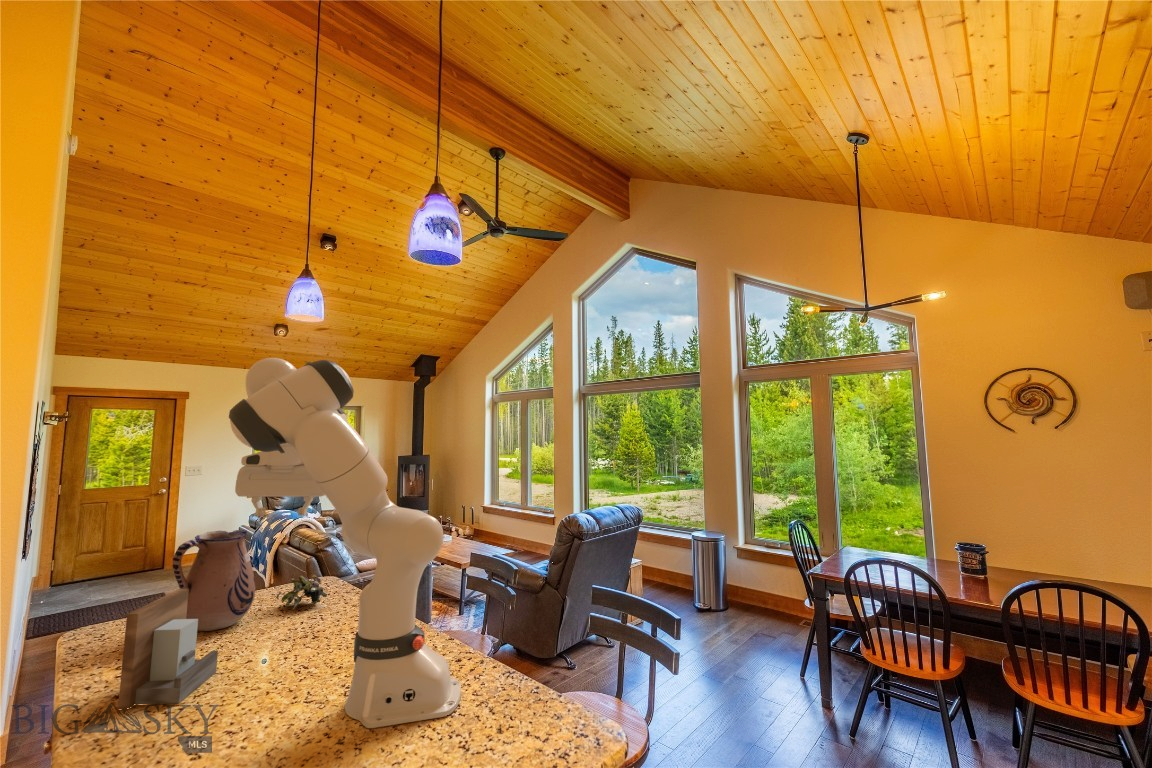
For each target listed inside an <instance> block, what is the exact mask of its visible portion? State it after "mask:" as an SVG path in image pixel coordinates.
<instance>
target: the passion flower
mask: <svg viewBox="0 0 1152 768" xmlns="http://www.w3.org/2000/svg"><path fill="white" fill-rule="evenodd" d="M310 578H312V579H311V580H310ZM310 578H308V577H304V576H303V575H299V577H298V578H297V579H298V580H296V579H294V578H291V579H290V581H291V583H292V584H293V585H294V586H293V588H292V590H291V591H288V592H287V593H286V594H284V593H282V592H281V591H278V593H277V595H276V599H279V596H280V595H281V596H282V597H281V600H280V601H281V603H284V602H285V601H286V603H285V606H286V607H287V606H288V605H290V604H291V603H292V602H293V601H294V602H293V608H292V610H291V612H294V610H295V609H296V607H297V606H298V605H299V603H301V602H302V600H303V598H304V597H306V598H310V599H311V603H313V604H317V603H320V602H321V599H320V596H322V597H323V598H326V597H328V594H327V593H325V589H324V587H323V586H320V584H321V582H322V579H321V578H319V576H316V575H315V574H311V575H310ZM301 591H303V593H302V594H301V595H300V596H299V595H298V594H299V593H300V592H301Z"/></svg>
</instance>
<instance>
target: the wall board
mask: <svg viewBox="0 0 1152 768" xmlns="http://www.w3.org/2000/svg"><path fill="white" fill-rule="evenodd" d="M188 592H189V589H180V588H179V589H176V590H174V591H172V592H170V593H168V594H166V595H163V596H162V597H160V598H158V599H155V600H154V601H152V602H149V603H148V604H146V605H143V606H141V607H139V608H137V609H135V610H133V611H131V612H129V613H127V614H126V622H125V631H124V644H123V651H122V652H123V653H122V662H121V673H120V682H119V684H120V685H119V694H118V704H117V710H118V709H127V708H130V707H132V706H133V705H134V704H158V705H175V704H176V705H177V704H180V703H182V702H183V701H184V700H185V699H186V698H187V697H189V696H190V695H191V694H193V692H195V691H196V690H197V689H199V688H200V687H201V686H202V685H203V684H204V683H206V682H207V681H208V680H210V678H212V677H213V676H214V675H215V674H216V673H217V670H218V669H217V667H218V656H219V650H216V649H214V650H211V651H209V652H208V653H206V654H205V655H204V656H203V657H201V658H198V659H196V658H195V663H194V665H192V666H191V667H189V668H188V669H187V670H185V671H184V672H183V673H181V674H180V675H179V676H177V677H176V678H175V680H161V681H150V670H151V659H152V648H153V637H154V630H155V629H157V628H159V627H161V626H163V625H164V624H166V623H168V622H170V621H172V620H173V619H186V615H187V603H188ZM132 708H133V707H132Z"/></svg>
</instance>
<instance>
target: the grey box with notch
mask: <svg viewBox="0 0 1152 768" xmlns="http://www.w3.org/2000/svg"><path fill="white" fill-rule="evenodd" d="M197 627H198V619H173V620H172V621H170V622H168V623H166V624H164V625H163V626H161V627H159V628H157V629H155V630H154V637H153V648H152V659H151V670H150V681H161V680H175V678H176V677H177V676H179V675H180V674H181V673H183V672H184V671H185V670H187V669H188V668H189V667H191V666H192V665H194V663H195V659H196V649H197V639H198V638H197V636H198V630H197Z"/></svg>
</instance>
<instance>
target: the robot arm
mask: <svg viewBox="0 0 1152 768" xmlns="http://www.w3.org/2000/svg"><path fill="white" fill-rule="evenodd" d="M354 390H355V389H354V387H353V384H352V381H351V378H350V376H349V374H348V373H347V372H346V371H345V370H344V369H343V367H341V366H340V365H338V364H337V363H336V362H335V361H332V360H329V359H320V360H315V361H312V362H311V361H306V362H305V365H303V366H301V367H299V368H296V366H294V364H292V363H290V361H288V360H285V359H283V358H278V357H266V358H262V359H260V360H258V361H256V362H255V363H254V364H252V365H251V366H250V368H249V369H248V371H247V372H246V376H245V391H246V395H247V397H248V398H246V399H244V398H243V399H241V400H240V401H239V402H237V403H235V405H234V406H233V407H232V408H231V409H229V413H228V419H229V420H230V421H229V422H230V428H231V430H232V432H233V434H234V436H235V437H236V438H237V440H238V441H240V442H241V443H242V444H244V445H245V446H247V447H249V448H252V449H253V450H254V451H257V452H255V453H251V454H248V455H245V456H242V457H241V461H240V462H241V465H242V467H240V468H239V470H238V472H237V476H236V481H235V489H234V492H235V494H236V496H238V497H239V498H240V497H242V498H243V497H249V498H250V497H251V503H252V505H253V507H254V508H255V516H256V517H263V516H266V514H267V513H266V510H267V507H266V506H265V507H264V506H263V505H262V503H261V501H262V500H263V497H264V498H265V497H267V498H268V497H270V498H272V497H276V498H277V497H286V498H288V497H303V502H305V503H304V504H303V506H302V507H299V508H297V516H298V517H300V516H302V517H304V516H307V514H308V508H309V507H310V505H311V503H313V501H314V498H315V497H317V498H318V497H321V498H322V497H324V496H325V497H326V498H327V499H328V501H329V503H331V505H332V506H333V507H334V509H335V510H336V512H337V515H338V517H339V519H340V523H341V524H342V526H341V537H342V540H343V542H344V544H345V545H347V547H348V548H349V549H351V550H353V551H354V552H356V553H358V554H359V555H360V556H365V557H368V558H372V559H376V567H375V570H374V574H373V577H372V579H371V582H369V583H368V584H366V586H364V588H363V589H362V590H361V592H360V595H359V602H358V603H359V606H358V621H357V631H356V632H355V636H354V642H353V662H354V668H353V674H352V678H351V679H352V680H351V684H350V688H349V693H348V695H347V698H346V702H345V704H344V712H345V714H347V716H349V717H351V718H352V719H355V720H356V721H358V722H359V721H360V722H361V725H363V726H364V728H366V729H375V728H382V727H387V726H394V725H400V724H406V723H412V722H419V721H424V720H431V719H438V718H442V717H448V716H449V715H451V714H452V713H453V712H454V711H455V710H456V709H457V707H458V706H459V704H460V701H461V695H462V692H461V691H462V690H461V689H462V687H461V684H460V682H459V681H458V679H457V678H456V677H451V672H450V667H449V663H448V661H447V659H446V658H445V657H444V656H443V655H441V654H439V653H438V652H436V651H435V650H433V649H432V648H430V646H428V645H427V644H425V636H426V635H425V626H422V628H421V627H419V625H417V624H416V613H417V612H416V611H417V599H418V598H417V597H418V590H419V585H420V582H421V578H422V576H423V573H424V571H425V569H426V567H427V566H428V565H429V564H430V563H431V562H432V561H434V559H436V557H437V556H438V555H439V553H440V552H441V549H442V546H443V544H444V528H443V526H442V524H441V523H440V521H439V520H438V519H437V518H435V517H434V516H432V515H430V514H428V513H426V512H424V511H422V510H419V509H415V508H414V509H412V508H408V507H401V506H398V505H396V504H395V503H394V502H393V501H391V500H390V498H389V496H388V492H387V490H386V488H387V486H388V483H389V482H388V481H389V480H388V479H389V478H388V475H387V473H386V472H385V470H384V469H383V467H382V466H381V464H380V463H379V461H378V460H377V458H376V457H375V455H374V453H373V452H372V450H371V449H370V448H369V446H368V445H367V444H366V441H365V440H364V439H363V437H362V436H361V435H360V434H359V433H358V431H357V430H356V429H355V428H354V427H353V426H352V424H351V423H349V420H348V417H347V414H346V412H345V411H344V410H343V408H344V407H345V406H346V405H347V404H348V403H350V402H351V400H352V399H353V398H354ZM447 715H448V716H447Z"/></svg>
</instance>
